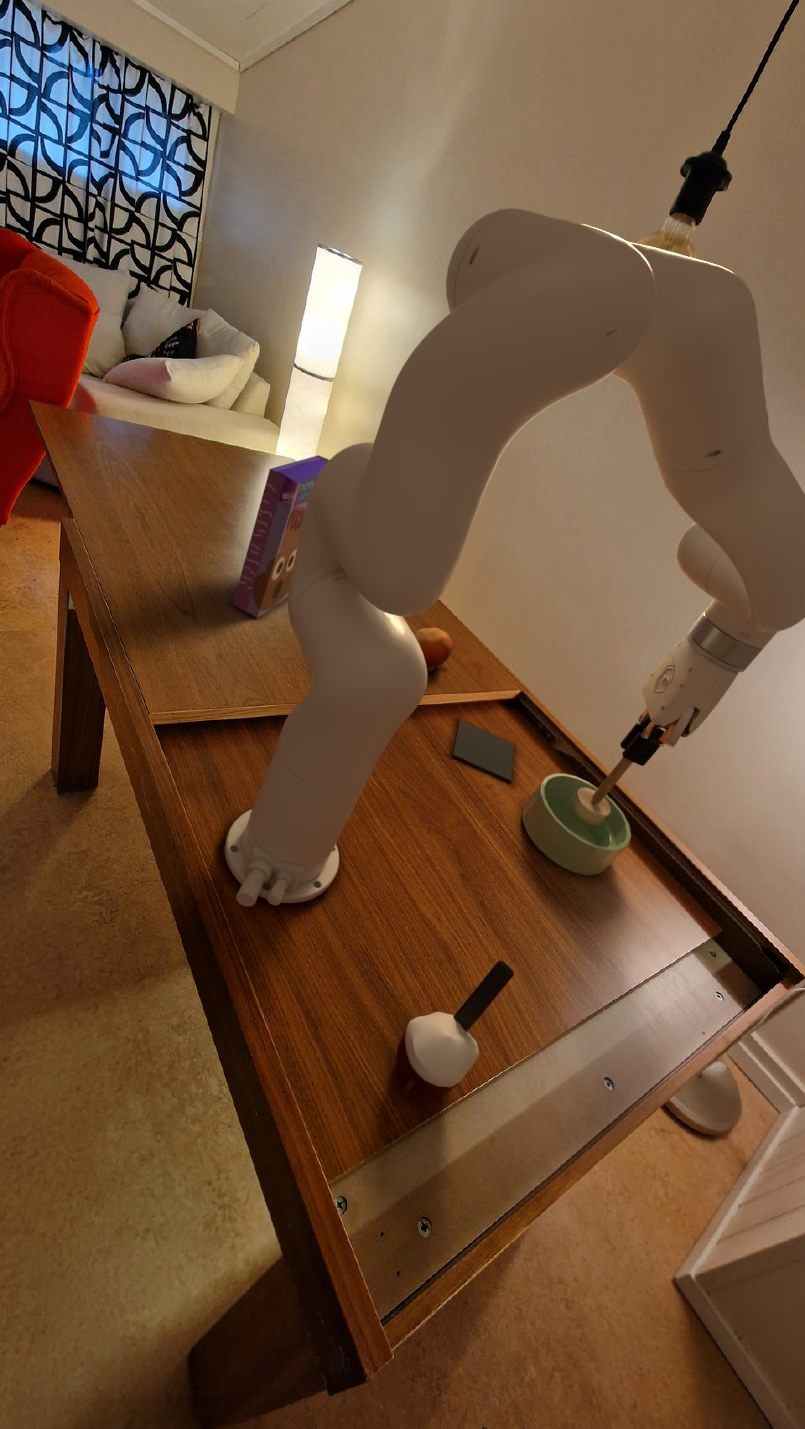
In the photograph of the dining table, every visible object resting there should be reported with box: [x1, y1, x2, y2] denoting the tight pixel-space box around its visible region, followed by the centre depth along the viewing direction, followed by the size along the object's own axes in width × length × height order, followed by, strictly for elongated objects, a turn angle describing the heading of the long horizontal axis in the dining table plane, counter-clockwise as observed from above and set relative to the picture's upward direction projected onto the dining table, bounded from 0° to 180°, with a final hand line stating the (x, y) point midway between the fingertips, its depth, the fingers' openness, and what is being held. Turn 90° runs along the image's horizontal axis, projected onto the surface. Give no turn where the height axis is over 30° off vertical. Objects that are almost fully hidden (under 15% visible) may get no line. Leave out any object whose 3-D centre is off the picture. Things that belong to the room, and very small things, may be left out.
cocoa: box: [396, 960, 515, 1099], centre depth 54 cm, size 10×6×12 cm, turn 118°
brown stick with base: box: [570, 726, 661, 825], centre depth 84 cm, size 5×5×17 cm
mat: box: [452, 719, 514, 783], centre depth 100 cm, size 10×10×1 cm
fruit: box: [413, 627, 453, 673], centre depth 114 cm, size 8×8×8 cm
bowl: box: [521, 773, 632, 876], centre depth 90 cm, size 14×14×6 cm
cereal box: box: [232, 454, 330, 619], centre depth 105 cm, size 17×5×24 cm, turn 161°
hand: (631, 754), depth 82 cm, fingers closed on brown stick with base, 1 cm apart
